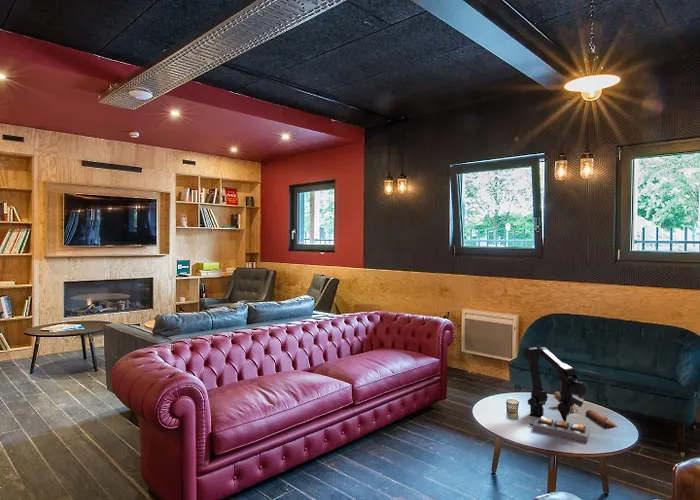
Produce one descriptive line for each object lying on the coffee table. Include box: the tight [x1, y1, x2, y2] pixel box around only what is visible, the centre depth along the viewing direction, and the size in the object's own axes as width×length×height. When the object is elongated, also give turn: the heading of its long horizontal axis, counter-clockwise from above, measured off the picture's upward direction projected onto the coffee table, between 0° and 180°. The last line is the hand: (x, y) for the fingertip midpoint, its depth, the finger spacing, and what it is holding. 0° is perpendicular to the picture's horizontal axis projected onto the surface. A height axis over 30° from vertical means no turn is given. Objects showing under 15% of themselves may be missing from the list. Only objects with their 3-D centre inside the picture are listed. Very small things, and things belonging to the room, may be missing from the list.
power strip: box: [529, 417, 590, 443], centre depth 242 cm, size 29×10×4 cm, turn 56°
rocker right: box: [572, 423, 585, 429], centre depth 238 cm, size 5×4×1 cm
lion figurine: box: [553, 391, 579, 413], centre depth 274 cm, size 15×5×9 cm, turn 38°
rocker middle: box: [556, 420, 568, 426], centre depth 243 cm, size 5×4×1 cm
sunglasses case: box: [585, 409, 618, 429], centre depth 256 cm, size 18×7×7 cm
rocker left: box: [539, 415, 553, 423], centre depth 247 cm, size 5×4×1 cm
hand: (566, 418), depth 246 cm, fingers open, 9 cm apart
